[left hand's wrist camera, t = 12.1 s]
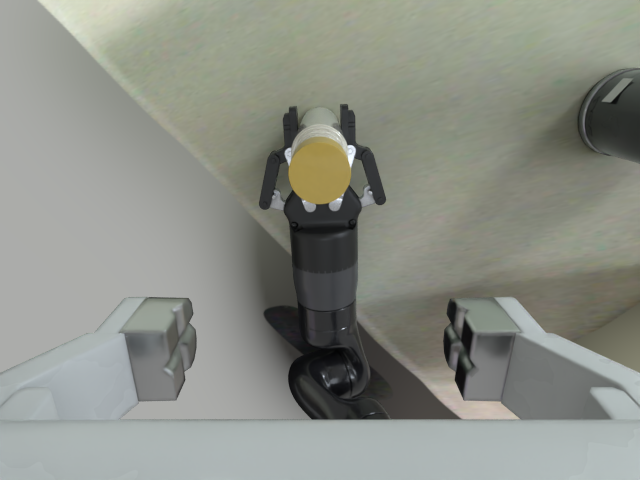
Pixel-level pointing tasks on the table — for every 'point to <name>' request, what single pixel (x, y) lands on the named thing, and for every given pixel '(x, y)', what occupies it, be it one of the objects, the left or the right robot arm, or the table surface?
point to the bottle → (319, 128)
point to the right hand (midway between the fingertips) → (318, 106)
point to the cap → (319, 170)
